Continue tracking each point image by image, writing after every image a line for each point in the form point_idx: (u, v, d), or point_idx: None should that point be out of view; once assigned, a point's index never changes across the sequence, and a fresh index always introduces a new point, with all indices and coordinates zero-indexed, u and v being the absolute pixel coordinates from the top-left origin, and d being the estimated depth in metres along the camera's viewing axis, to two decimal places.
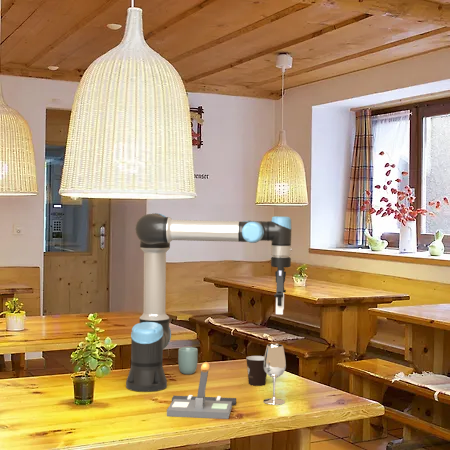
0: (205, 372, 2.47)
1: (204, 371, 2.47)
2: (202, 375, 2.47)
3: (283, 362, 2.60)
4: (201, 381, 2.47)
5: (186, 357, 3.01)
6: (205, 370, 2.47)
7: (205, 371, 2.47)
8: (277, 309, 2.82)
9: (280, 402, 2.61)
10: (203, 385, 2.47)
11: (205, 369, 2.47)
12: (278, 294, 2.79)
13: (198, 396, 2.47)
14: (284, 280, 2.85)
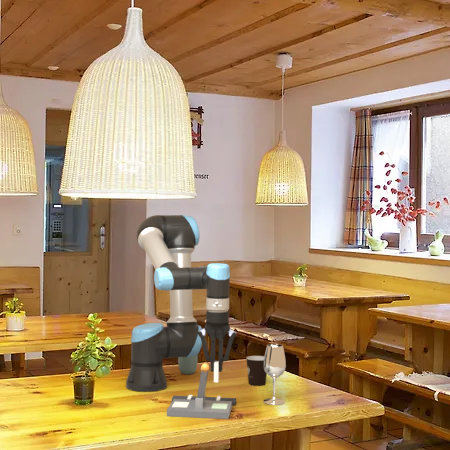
0: (205, 372, 2.47)
1: (204, 371, 2.47)
2: (202, 375, 2.47)
3: (283, 362, 2.60)
4: (201, 381, 2.47)
5: (186, 357, 3.01)
6: (205, 370, 2.47)
7: (205, 371, 2.47)
8: None
9: (280, 402, 2.61)
10: (203, 385, 2.47)
11: (205, 369, 2.47)
12: None
13: (198, 396, 2.47)
14: None
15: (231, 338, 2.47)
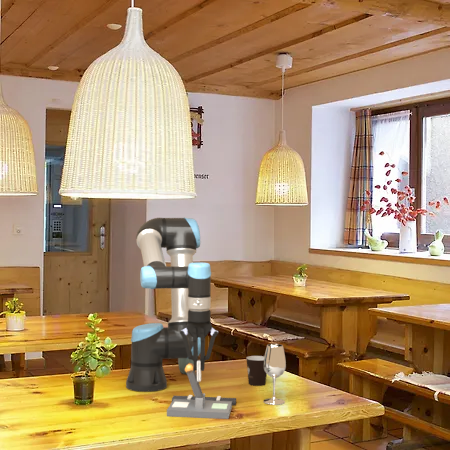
0: (191, 372, 2.47)
1: (189, 372, 2.47)
2: (190, 376, 2.48)
3: (283, 362, 2.60)
4: (191, 382, 2.48)
5: None
6: (190, 371, 2.47)
7: (190, 371, 2.47)
8: None
9: (280, 402, 2.61)
10: (195, 385, 2.47)
11: (189, 370, 2.47)
12: None
13: (196, 397, 2.48)
14: (193, 340, 2.48)
15: (213, 337, 2.47)
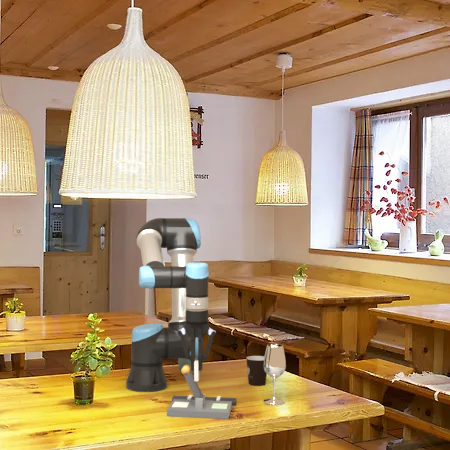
0: (188, 373, 2.48)
1: (186, 373, 2.48)
2: (187, 378, 2.48)
3: (283, 362, 2.60)
4: (189, 383, 2.48)
5: None
6: (186, 372, 2.48)
7: (187, 373, 2.48)
8: None
9: (280, 402, 2.61)
10: (193, 385, 2.47)
11: (186, 371, 2.48)
12: None
13: (196, 397, 2.48)
14: (190, 340, 2.48)
15: (210, 337, 2.47)
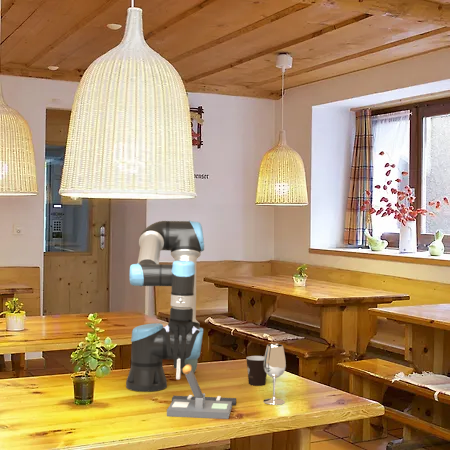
0: (189, 373, 2.48)
1: (187, 373, 2.48)
2: (188, 377, 2.48)
3: (283, 362, 2.60)
4: (190, 383, 2.48)
5: None
6: (188, 371, 2.48)
7: (188, 372, 2.48)
8: None
9: (280, 402, 2.61)
10: (194, 385, 2.47)
11: (187, 370, 2.48)
12: None
13: (196, 397, 2.48)
14: (174, 337, 2.48)
15: (194, 335, 2.48)
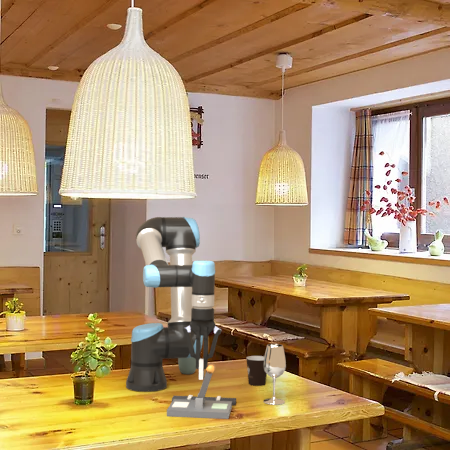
0: (210, 373, 2.47)
1: (209, 372, 2.47)
2: (206, 376, 2.47)
3: (283, 362, 2.60)
4: (204, 382, 2.47)
5: None
6: (210, 372, 2.47)
7: (210, 373, 2.47)
8: None
9: (280, 402, 2.61)
10: (206, 386, 2.47)
11: (210, 371, 2.47)
12: None
13: (199, 396, 2.47)
14: (196, 338, 2.47)
15: (216, 335, 2.47)
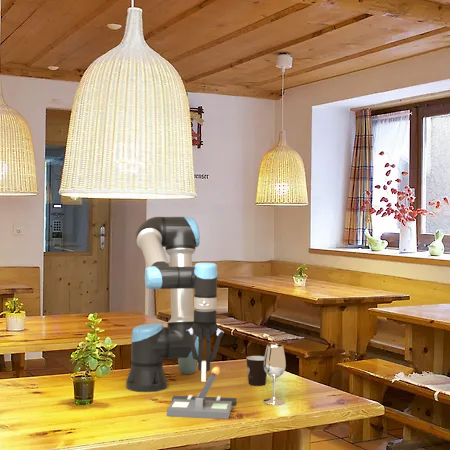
0: (214, 376, 2.47)
1: (214, 375, 2.47)
2: (210, 378, 2.47)
3: (283, 362, 2.60)
4: (207, 383, 2.47)
5: None
6: (215, 374, 2.47)
7: (215, 375, 2.47)
8: None
9: (280, 402, 2.61)
10: (208, 387, 2.47)
11: (215, 373, 2.47)
12: None
13: (200, 396, 2.47)
14: (198, 340, 2.47)
15: (219, 337, 2.47)
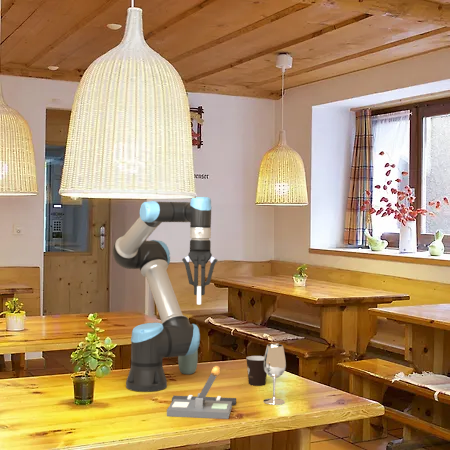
0: (214, 376, 2.47)
1: (214, 375, 2.47)
2: (210, 378, 2.47)
3: (283, 362, 2.60)
4: (207, 383, 2.47)
5: (186, 357, 3.01)
6: (215, 374, 2.47)
7: (215, 375, 2.47)
8: None
9: (280, 402, 2.61)
10: (208, 387, 2.47)
11: (215, 373, 2.47)
12: None
13: (200, 396, 2.47)
14: (194, 266, 2.72)
15: (212, 264, 2.72)
